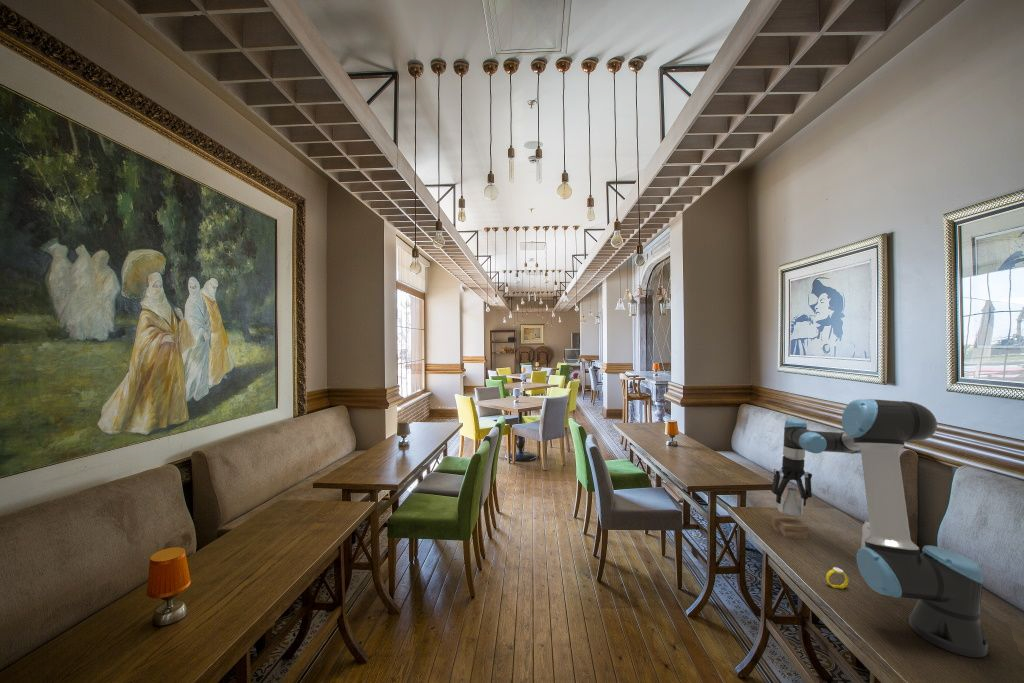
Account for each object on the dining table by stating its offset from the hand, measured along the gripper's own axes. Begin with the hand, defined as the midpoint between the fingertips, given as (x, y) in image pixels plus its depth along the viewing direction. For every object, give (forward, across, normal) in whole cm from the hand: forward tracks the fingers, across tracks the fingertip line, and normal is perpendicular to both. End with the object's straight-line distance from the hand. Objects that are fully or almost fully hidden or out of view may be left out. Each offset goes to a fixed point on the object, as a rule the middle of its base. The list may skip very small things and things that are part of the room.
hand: (790, 511), depth 176 cm
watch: (+9, +2, +38) cm, 39 cm away
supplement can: (+9, -19, +21) cm, 30 cm away
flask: (+1, 0, 0) cm, 1 cm away
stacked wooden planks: (+9, 0, 0) cm, 9 cm away
